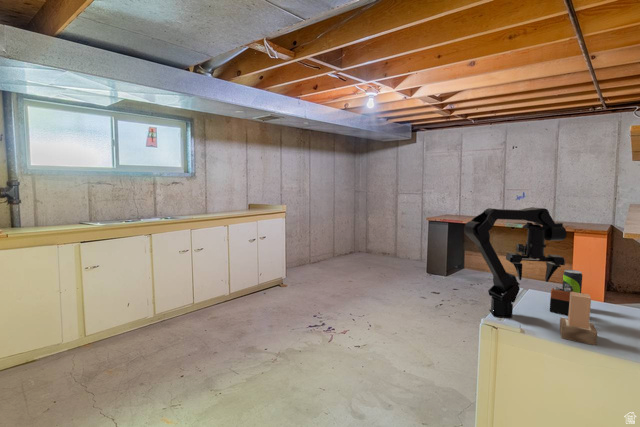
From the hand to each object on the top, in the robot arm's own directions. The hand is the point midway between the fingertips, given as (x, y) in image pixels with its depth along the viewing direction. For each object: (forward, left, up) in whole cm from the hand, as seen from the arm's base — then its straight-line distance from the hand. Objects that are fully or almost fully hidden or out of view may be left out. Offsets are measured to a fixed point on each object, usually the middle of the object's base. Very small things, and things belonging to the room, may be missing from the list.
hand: (533, 280), depth 133 cm
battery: (+12, +4, -13) cm, 18 cm away
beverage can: (+19, +12, -13) cm, 26 cm away
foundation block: (+7, -19, -13) cm, 24 cm away
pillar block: (+7, -19, -9) cm, 22 cm away
